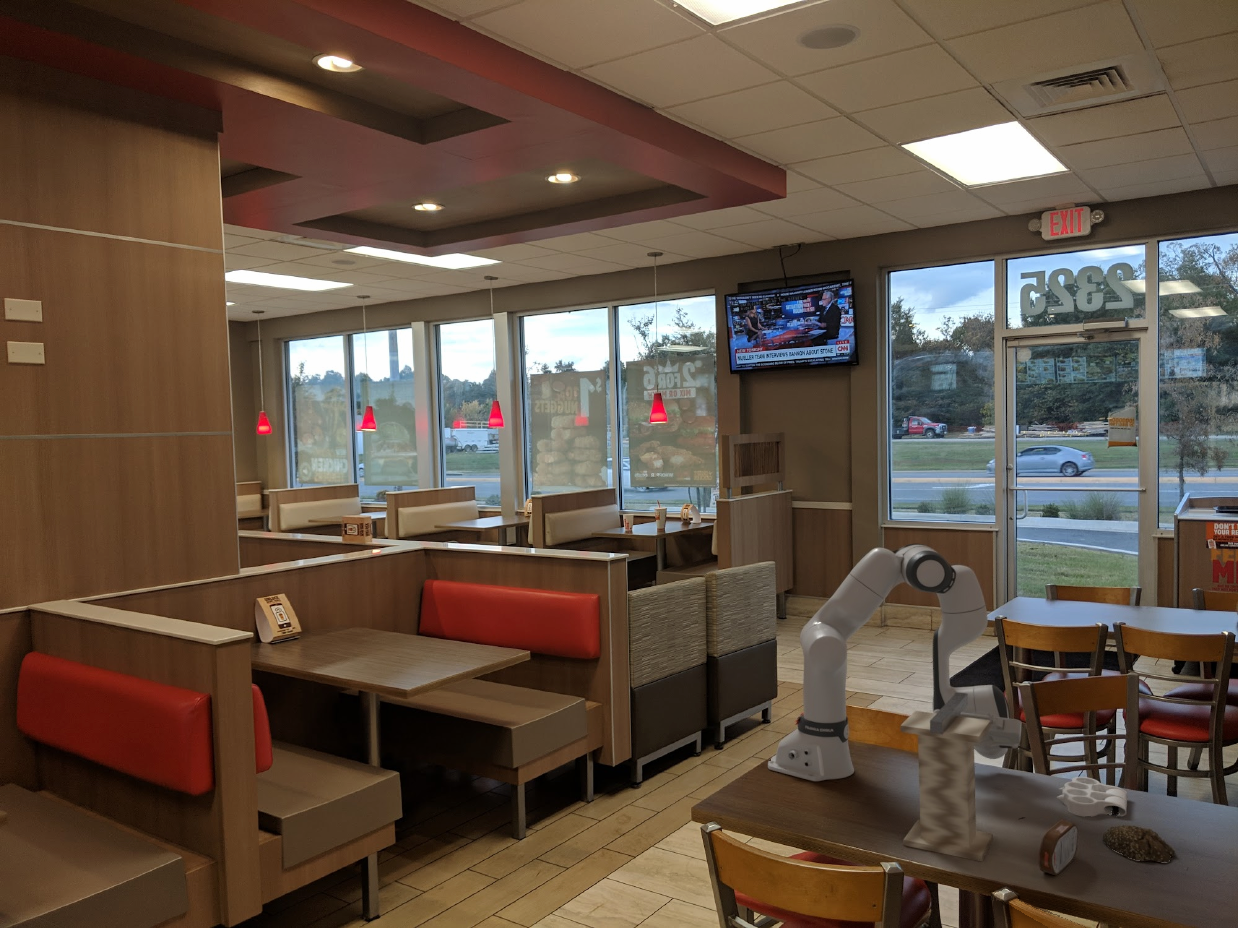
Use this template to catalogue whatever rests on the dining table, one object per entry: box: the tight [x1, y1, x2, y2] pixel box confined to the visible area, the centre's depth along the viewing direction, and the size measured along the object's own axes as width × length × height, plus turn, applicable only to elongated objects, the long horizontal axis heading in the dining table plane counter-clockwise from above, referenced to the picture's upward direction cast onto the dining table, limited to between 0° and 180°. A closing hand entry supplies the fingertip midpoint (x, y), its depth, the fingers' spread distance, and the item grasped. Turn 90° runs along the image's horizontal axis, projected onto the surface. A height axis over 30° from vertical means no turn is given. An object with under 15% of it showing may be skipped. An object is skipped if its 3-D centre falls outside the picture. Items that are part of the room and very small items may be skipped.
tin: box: [1038, 818, 1079, 876], centre depth 185 cm, size 15×3×8 cm, turn 134°
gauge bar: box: [930, 692, 968, 734], centre depth 200 cm, size 24×2×2 cm, turn 147°
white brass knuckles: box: [1055, 776, 1128, 817], centre depth 216 cm, size 3×18×15 cm
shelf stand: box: [899, 710, 994, 862], centre depth 197 cm, size 16×12×26 cm
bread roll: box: [1102, 824, 1176, 863], centre depth 191 cm, size 13×12×5 cm
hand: (970, 715), depth 218 cm, fingers open, 8 cm apart
